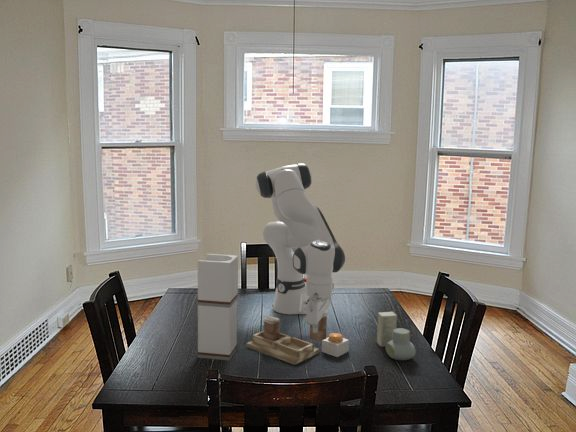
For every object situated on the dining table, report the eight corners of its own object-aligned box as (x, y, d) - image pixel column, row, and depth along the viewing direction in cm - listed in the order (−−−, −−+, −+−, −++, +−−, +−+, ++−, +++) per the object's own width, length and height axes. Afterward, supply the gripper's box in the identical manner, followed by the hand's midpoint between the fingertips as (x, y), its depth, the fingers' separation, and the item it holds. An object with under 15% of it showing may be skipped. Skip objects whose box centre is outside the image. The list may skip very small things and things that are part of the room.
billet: (317, 335, 199) (318, 310, 197) (326, 338, 196) (327, 313, 194) (309, 338, 196) (310, 313, 194) (318, 341, 193) (318, 316, 192)
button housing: (332, 346, 214) (333, 334, 213) (348, 351, 210) (348, 339, 209) (321, 351, 209) (322, 340, 208) (337, 357, 204) (337, 345, 204)
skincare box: (391, 341, 220) (393, 311, 218) (395, 346, 216) (397, 315, 214) (376, 342, 219) (377, 311, 217) (379, 346, 214) (381, 315, 212)
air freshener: (382, 352, 210) (384, 326, 208) (403, 350, 212) (404, 324, 210) (396, 364, 199) (397, 337, 198) (417, 362, 202) (419, 335, 200)
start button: (333, 340, 212) (334, 331, 212) (344, 344, 209) (345, 335, 208) (325, 344, 208) (326, 335, 208) (336, 348, 205) (337, 339, 205)
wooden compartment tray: (271, 336, 222) (272, 310, 220) (319, 352, 208) (320, 325, 206) (246, 346, 212) (246, 319, 210) (294, 365, 197) (295, 336, 195)
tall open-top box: (237, 348, 210) (238, 255, 204) (229, 360, 199) (230, 262, 194) (207, 345, 212) (207, 253, 206) (198, 357, 201) (197, 260, 195)
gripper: (320, 300, 182) (319, 341, 185) (335, 282, 201) (333, 319, 204) (301, 297, 184) (300, 338, 187) (317, 280, 203) (316, 317, 206)
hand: (318, 328), depth 195 cm, fingers closed on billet, 5 cm apart
